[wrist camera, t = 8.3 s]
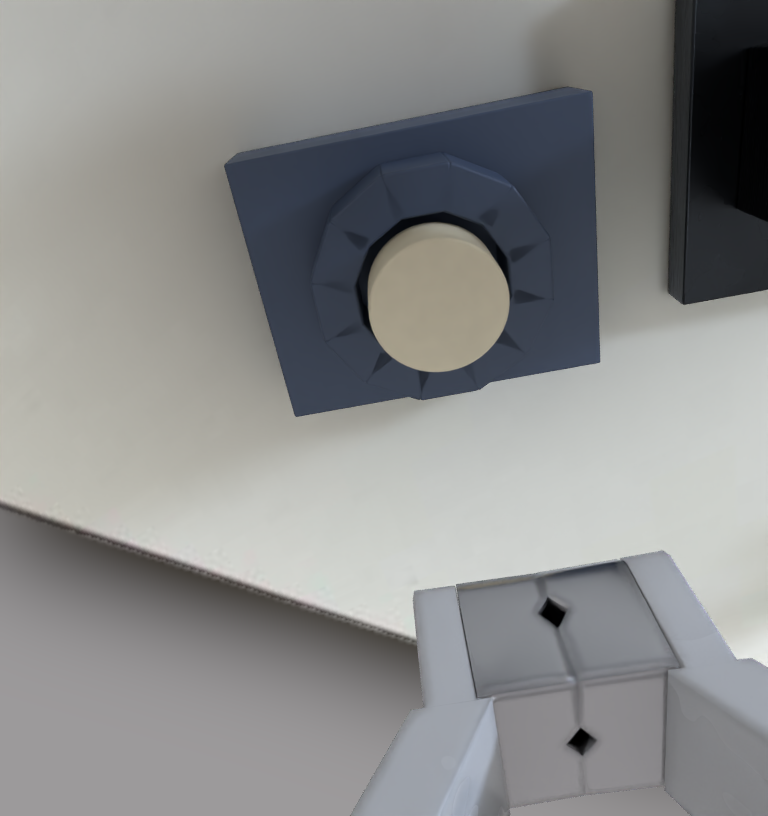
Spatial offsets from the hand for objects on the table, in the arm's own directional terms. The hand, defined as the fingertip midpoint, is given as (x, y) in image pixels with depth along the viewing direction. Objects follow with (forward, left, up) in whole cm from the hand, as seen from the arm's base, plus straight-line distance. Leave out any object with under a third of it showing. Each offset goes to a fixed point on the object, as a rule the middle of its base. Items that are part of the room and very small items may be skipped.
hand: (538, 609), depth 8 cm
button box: (0, 0, -15) cm, 15 cm away
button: (0, 0, -12) cm, 12 cm away
